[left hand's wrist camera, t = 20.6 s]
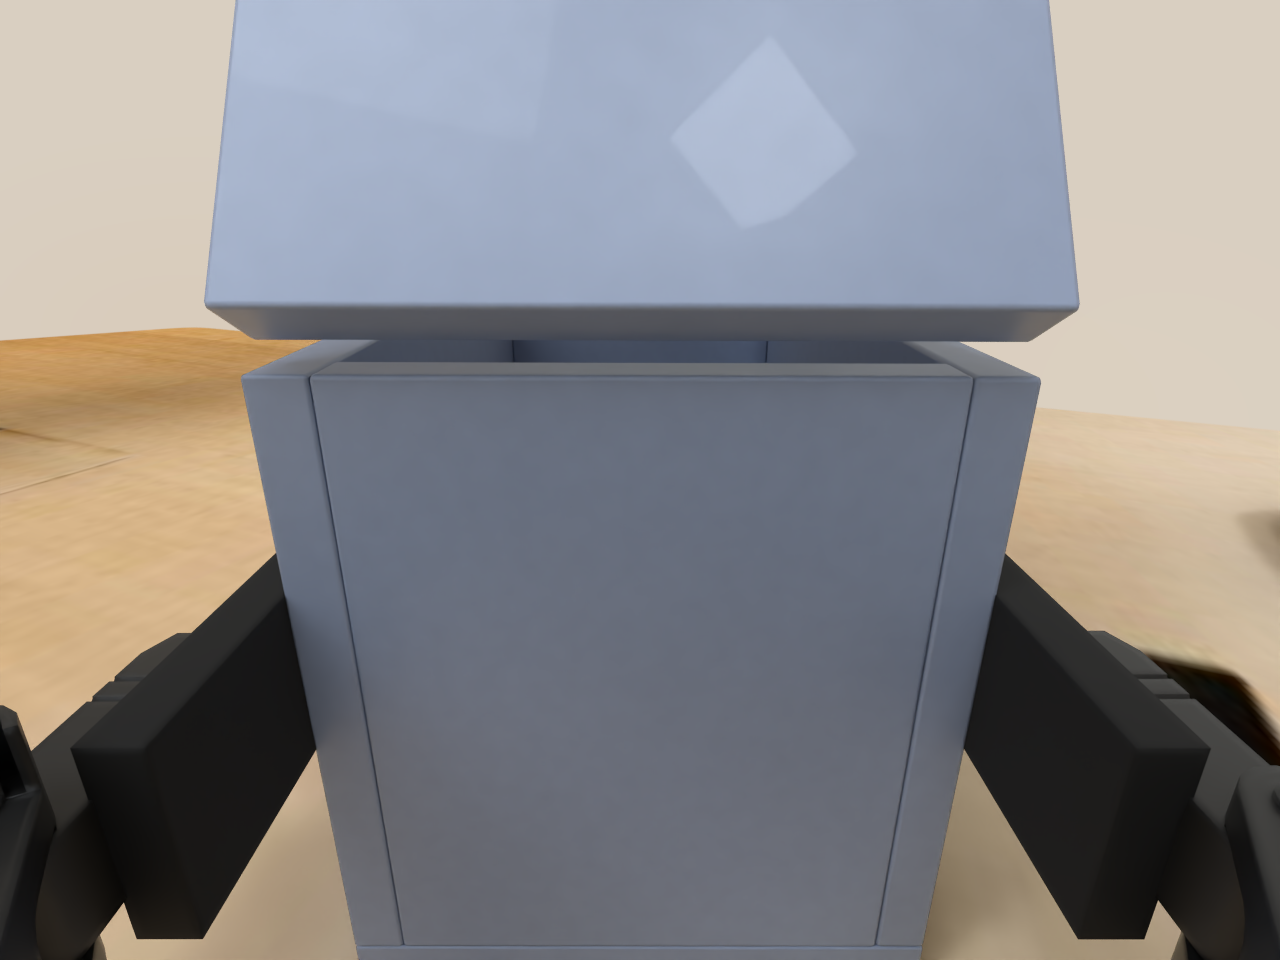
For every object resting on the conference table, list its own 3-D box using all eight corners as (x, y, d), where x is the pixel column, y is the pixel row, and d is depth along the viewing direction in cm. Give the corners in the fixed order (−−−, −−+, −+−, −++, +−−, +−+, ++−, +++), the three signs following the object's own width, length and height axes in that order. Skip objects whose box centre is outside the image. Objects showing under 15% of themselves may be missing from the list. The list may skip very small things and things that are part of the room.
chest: (507, 569, 27) (485, 266, 23) (771, 569, 27) (794, 267, 23) (361, 980, 13) (237, 375, 9) (916, 980, 13) (1044, 377, 9)
